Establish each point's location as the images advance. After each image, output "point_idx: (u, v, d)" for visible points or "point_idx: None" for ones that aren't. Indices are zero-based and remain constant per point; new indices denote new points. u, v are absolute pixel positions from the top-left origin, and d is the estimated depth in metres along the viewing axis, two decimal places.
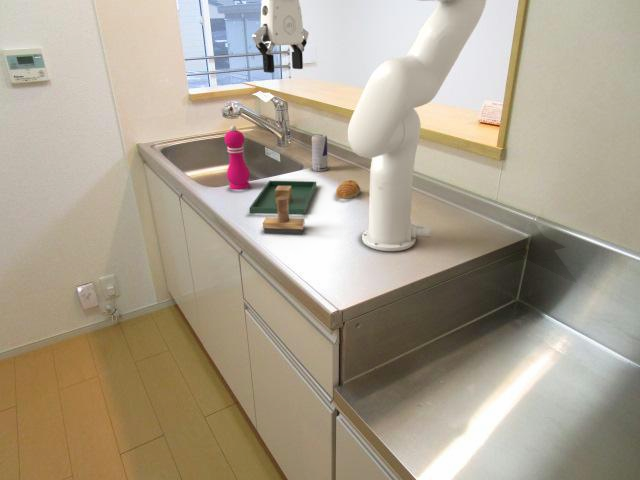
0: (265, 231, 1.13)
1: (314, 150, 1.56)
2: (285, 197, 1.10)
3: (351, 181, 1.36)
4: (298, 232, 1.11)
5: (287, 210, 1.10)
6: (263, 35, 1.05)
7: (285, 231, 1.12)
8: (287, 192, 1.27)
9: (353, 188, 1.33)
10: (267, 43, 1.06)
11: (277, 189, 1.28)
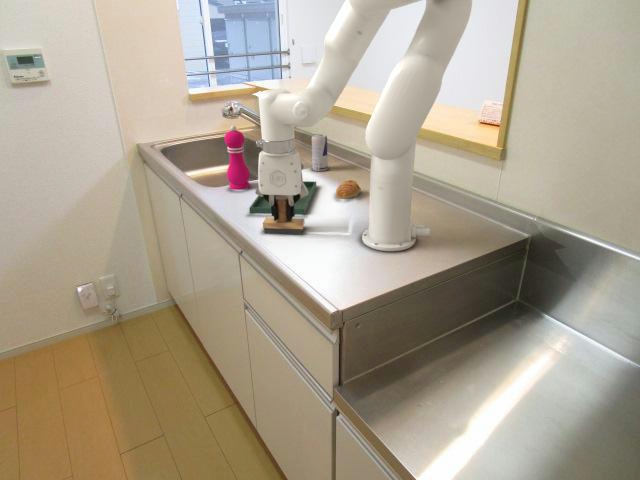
0: (265, 231, 1.13)
1: (314, 150, 1.56)
2: (285, 197, 1.10)
3: (351, 181, 1.36)
4: (298, 232, 1.11)
5: None
6: None
7: (285, 231, 1.12)
8: None
9: (353, 188, 1.33)
10: None
11: None
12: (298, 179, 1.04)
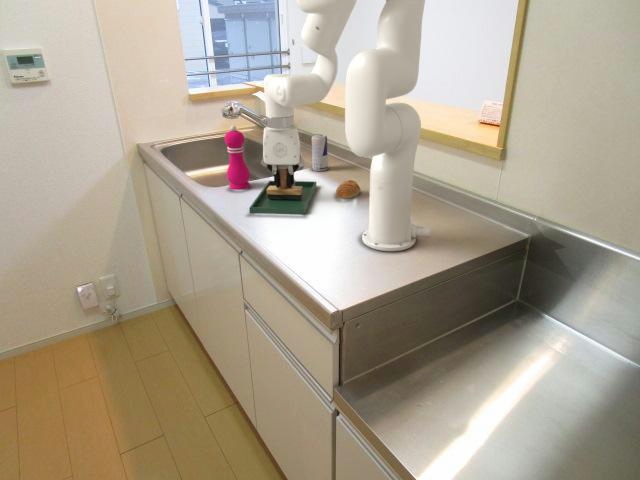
0: (269, 197, 1.31)
1: (314, 150, 1.56)
2: (286, 167, 1.28)
3: (351, 181, 1.36)
4: (297, 197, 1.30)
5: (287, 179, 1.29)
6: None
7: (286, 197, 1.30)
8: None
9: (353, 188, 1.33)
10: None
11: None
12: (297, 150, 1.23)
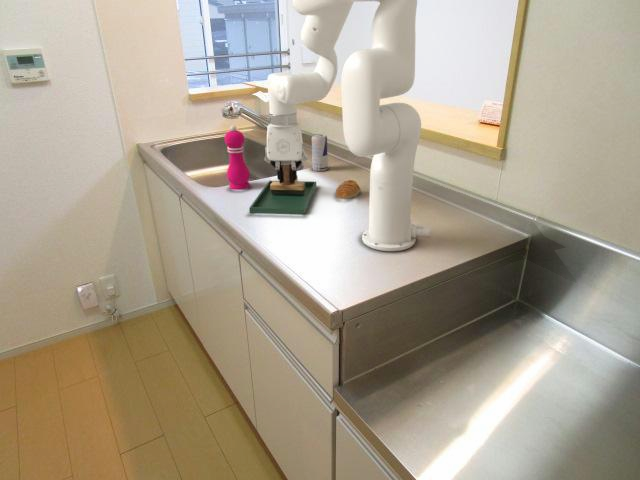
0: (272, 192, 1.35)
1: (314, 150, 1.56)
2: (289, 163, 1.32)
3: (351, 181, 1.36)
4: (299, 193, 1.34)
5: (290, 174, 1.32)
6: None
7: (289, 192, 1.34)
8: None
9: (353, 188, 1.33)
10: None
11: None
12: (299, 147, 1.27)
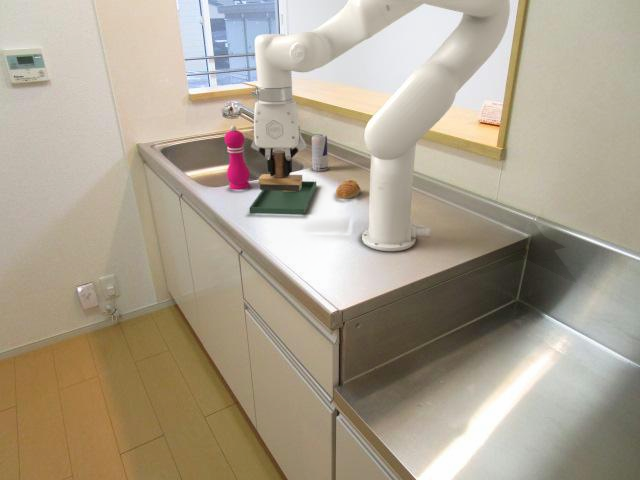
0: (261, 187, 1.08)
1: (314, 150, 1.56)
2: (282, 151, 1.05)
3: (351, 181, 1.36)
4: (295, 188, 1.07)
5: None
6: None
7: (282, 187, 1.07)
8: None
9: (353, 188, 1.33)
10: None
11: None
12: (295, 130, 1.00)
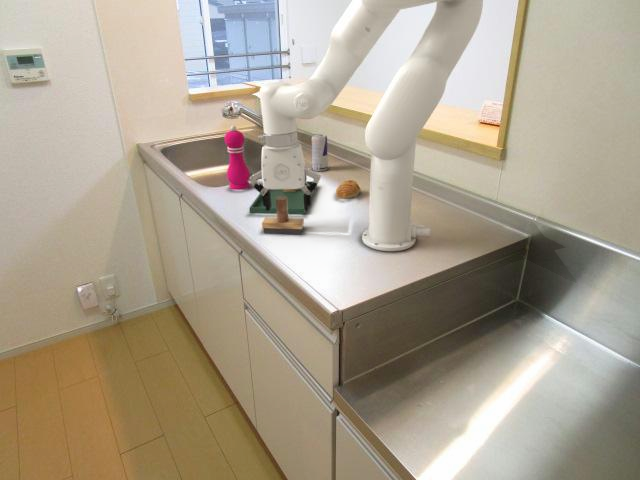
0: (264, 231, 1.13)
1: (314, 150, 1.56)
2: (284, 197, 1.10)
3: (351, 181, 1.36)
4: (297, 232, 1.11)
5: (286, 210, 1.10)
6: None
7: (284, 231, 1.12)
8: None
9: (353, 188, 1.33)
10: None
11: None
12: (302, 172, 1.04)
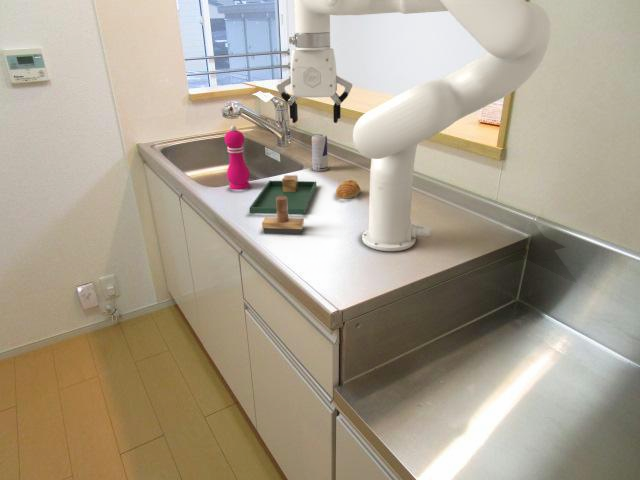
0: (264, 231, 1.13)
1: (314, 150, 1.56)
2: (284, 197, 1.10)
3: (351, 181, 1.36)
4: (297, 232, 1.11)
5: (286, 210, 1.10)
6: None
7: (284, 231, 1.12)
8: (293, 181, 1.36)
9: (353, 188, 1.33)
10: None
11: (284, 178, 1.37)
12: (333, 78, 0.98)
